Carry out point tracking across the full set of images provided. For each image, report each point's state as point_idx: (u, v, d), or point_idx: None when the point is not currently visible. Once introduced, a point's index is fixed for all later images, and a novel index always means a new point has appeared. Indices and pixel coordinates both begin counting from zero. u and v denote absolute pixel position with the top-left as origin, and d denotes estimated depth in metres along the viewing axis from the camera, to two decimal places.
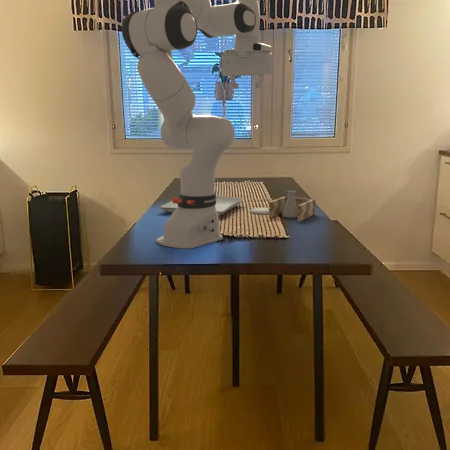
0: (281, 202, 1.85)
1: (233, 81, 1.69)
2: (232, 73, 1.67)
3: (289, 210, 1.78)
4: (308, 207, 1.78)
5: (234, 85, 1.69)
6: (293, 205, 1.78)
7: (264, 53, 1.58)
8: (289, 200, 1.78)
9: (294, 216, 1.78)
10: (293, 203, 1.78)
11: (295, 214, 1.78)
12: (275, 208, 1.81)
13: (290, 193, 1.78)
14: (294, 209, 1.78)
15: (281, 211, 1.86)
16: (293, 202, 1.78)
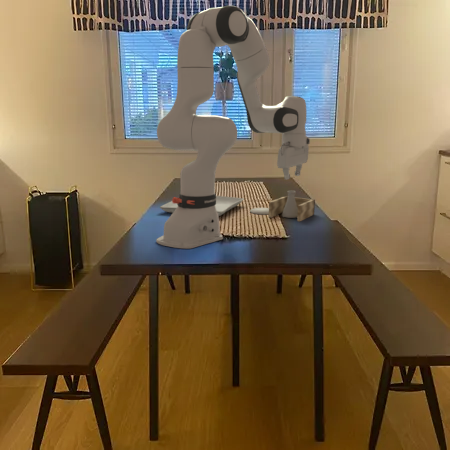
0: (281, 202, 1.85)
1: None
2: (291, 165, 1.71)
3: (289, 210, 1.78)
4: (308, 207, 1.78)
5: (289, 176, 1.73)
6: (292, 205, 1.78)
7: (308, 146, 1.80)
8: (289, 200, 1.78)
9: (294, 216, 1.78)
10: (293, 203, 1.78)
11: (295, 214, 1.78)
12: (275, 208, 1.81)
13: (290, 193, 1.78)
14: (294, 209, 1.78)
15: (281, 211, 1.86)
16: (293, 202, 1.78)
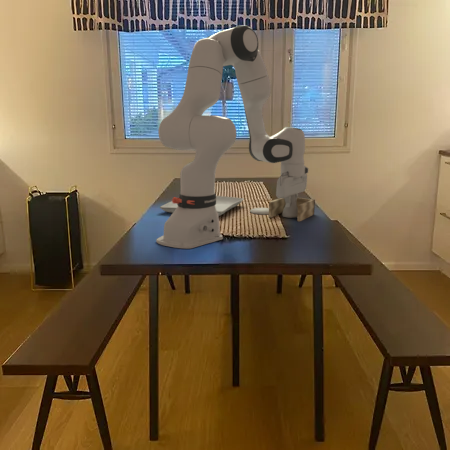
0: (281, 202, 1.85)
1: None
2: (290, 195, 1.74)
3: (289, 209, 1.78)
4: (308, 207, 1.78)
5: (290, 204, 1.78)
6: (293, 205, 1.78)
7: (306, 174, 1.83)
8: None
9: (294, 216, 1.78)
10: (293, 203, 1.78)
11: (295, 214, 1.78)
12: (275, 208, 1.81)
13: None
14: (294, 209, 1.78)
15: (281, 211, 1.86)
16: (293, 202, 1.78)
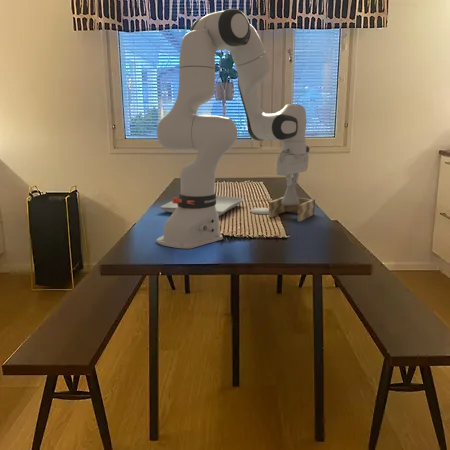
0: None
1: None
2: (291, 173, 1.71)
3: (288, 197, 1.76)
4: (308, 207, 1.78)
5: (291, 183, 1.75)
6: (292, 192, 1.76)
7: None
8: (289, 187, 1.77)
9: (293, 203, 1.76)
10: (293, 190, 1.76)
11: (295, 201, 1.76)
12: (275, 208, 1.81)
13: None
14: (294, 196, 1.76)
15: (281, 211, 1.86)
16: (293, 189, 1.76)
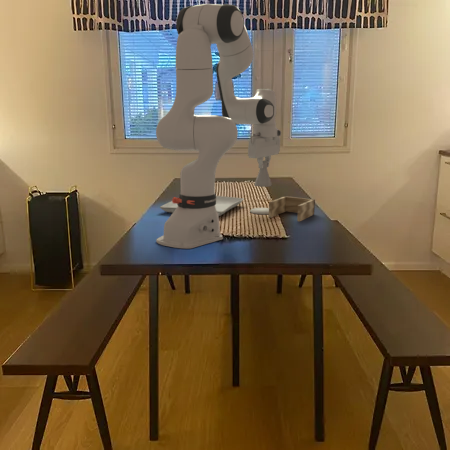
0: (281, 202, 1.85)
1: None
2: (262, 155, 1.78)
3: (261, 179, 1.83)
4: (308, 207, 1.78)
5: (263, 165, 1.82)
6: (264, 174, 1.83)
7: (279, 138, 1.87)
8: (261, 169, 1.83)
9: (265, 185, 1.83)
10: (265, 172, 1.83)
11: (266, 183, 1.83)
12: (275, 208, 1.81)
13: None
14: (266, 178, 1.83)
15: (281, 211, 1.86)
16: (265, 171, 1.83)
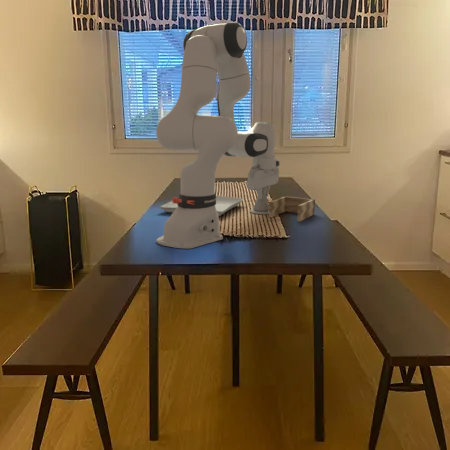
0: (281, 202, 1.85)
1: None
2: (261, 187, 1.81)
3: (259, 203, 1.86)
4: (308, 207, 1.78)
5: (262, 196, 1.85)
6: (263, 199, 1.86)
7: (278, 168, 1.90)
8: None
9: (264, 210, 1.86)
10: (263, 197, 1.86)
11: (265, 208, 1.86)
12: (275, 208, 1.81)
13: None
14: (264, 203, 1.86)
15: (281, 211, 1.86)
16: (263, 196, 1.86)
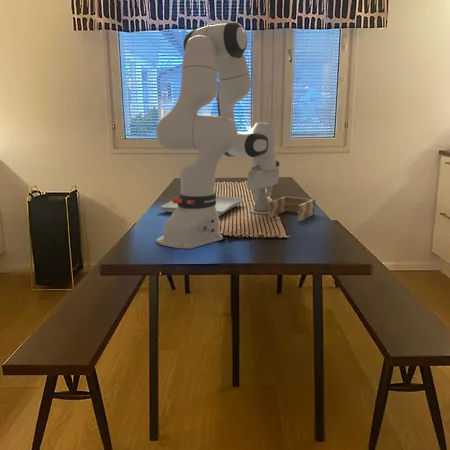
0: (281, 202, 1.85)
1: None
2: (261, 187, 1.81)
3: (259, 203, 1.86)
4: (308, 207, 1.78)
5: (259, 197, 1.83)
6: (263, 199, 1.86)
7: (278, 168, 1.90)
8: (260, 194, 1.86)
9: (264, 210, 1.86)
10: (263, 197, 1.86)
11: (265, 208, 1.86)
12: (275, 208, 1.81)
13: None
14: (264, 203, 1.86)
15: (281, 211, 1.86)
16: (263, 196, 1.86)
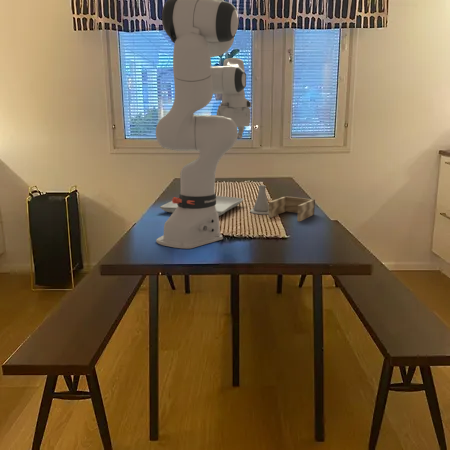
0: (281, 202, 1.85)
1: None
2: None
3: (259, 203, 1.86)
4: (308, 207, 1.78)
5: None
6: (263, 199, 1.86)
7: (249, 109, 1.86)
8: (260, 194, 1.86)
9: (264, 210, 1.86)
10: (263, 197, 1.86)
11: (265, 208, 1.86)
12: (275, 208, 1.81)
13: (260, 188, 1.86)
14: (264, 203, 1.86)
15: (281, 211, 1.86)
16: (263, 196, 1.86)
